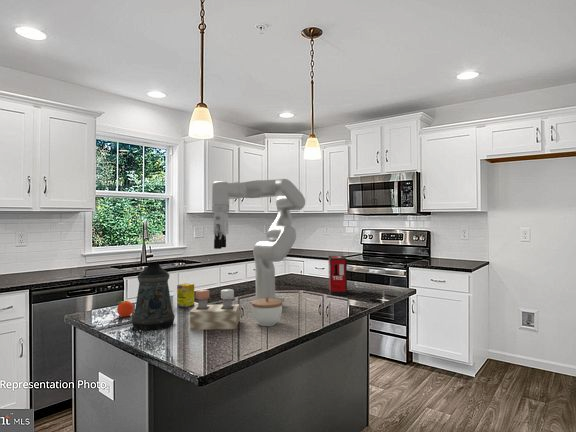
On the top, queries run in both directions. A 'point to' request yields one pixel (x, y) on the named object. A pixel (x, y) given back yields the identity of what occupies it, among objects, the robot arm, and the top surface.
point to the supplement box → (185, 295)
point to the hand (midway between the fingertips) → (220, 248)
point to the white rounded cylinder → (227, 298)
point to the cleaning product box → (337, 275)
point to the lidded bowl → (267, 311)
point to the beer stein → (153, 300)
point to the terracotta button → (202, 299)
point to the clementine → (125, 308)
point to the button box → (214, 317)
